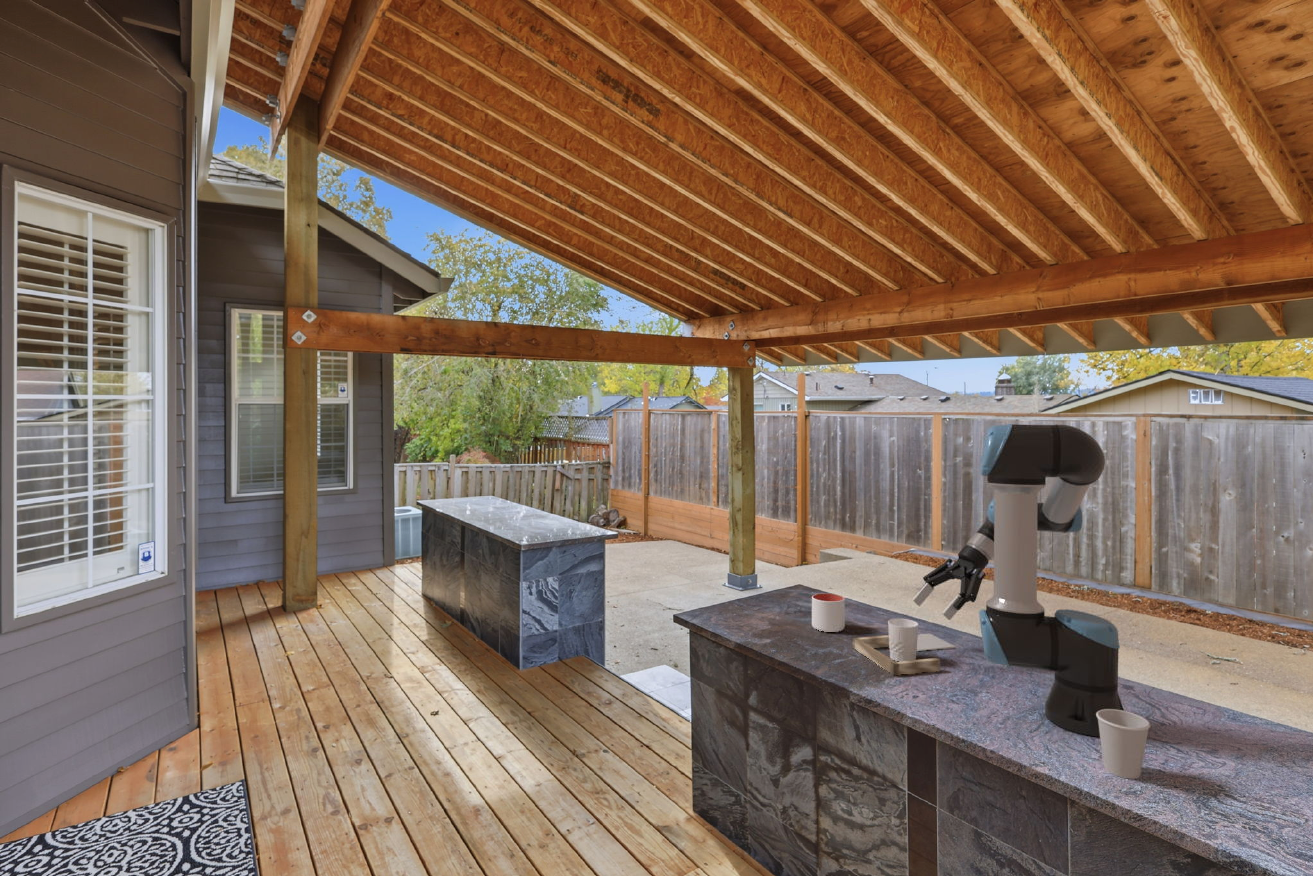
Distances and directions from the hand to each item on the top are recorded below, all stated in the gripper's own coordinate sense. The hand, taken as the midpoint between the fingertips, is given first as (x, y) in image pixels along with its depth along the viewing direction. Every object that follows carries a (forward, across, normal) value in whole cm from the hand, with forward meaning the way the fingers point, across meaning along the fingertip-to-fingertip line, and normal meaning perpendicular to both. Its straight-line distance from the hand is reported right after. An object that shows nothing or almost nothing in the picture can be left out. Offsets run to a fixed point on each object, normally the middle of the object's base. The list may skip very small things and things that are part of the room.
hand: (930, 609), depth 188 cm
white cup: (+16, -1, -3) cm, 16 cm away
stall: (+17, -1, -1) cm, 17 cm away
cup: (+21, +28, +3) cm, 35 cm away
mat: (+6, +9, -12) cm, 16 cm away
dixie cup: (+11, -63, -7) cm, 64 cm away
